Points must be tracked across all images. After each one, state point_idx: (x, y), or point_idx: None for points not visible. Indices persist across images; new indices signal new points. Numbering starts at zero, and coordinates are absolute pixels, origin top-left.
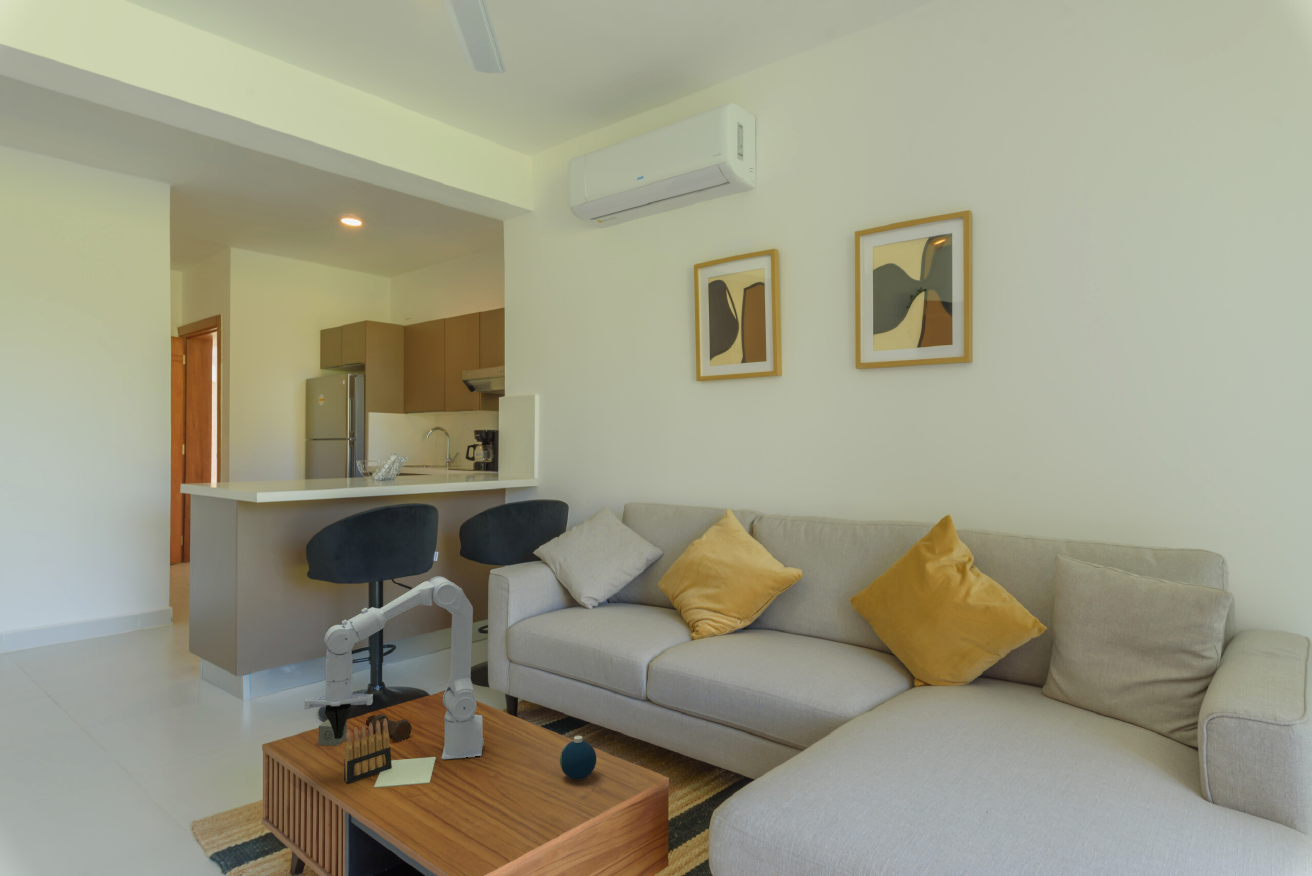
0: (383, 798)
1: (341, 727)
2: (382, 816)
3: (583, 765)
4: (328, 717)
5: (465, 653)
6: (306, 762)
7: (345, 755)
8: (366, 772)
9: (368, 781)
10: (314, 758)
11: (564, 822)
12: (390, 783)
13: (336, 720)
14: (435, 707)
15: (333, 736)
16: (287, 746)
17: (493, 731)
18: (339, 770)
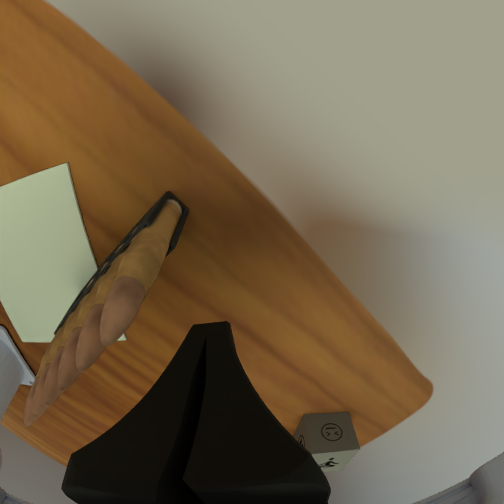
0: (22, 96)
1: (169, 370)
2: (8, 6)
3: None
4: (274, 433)
5: None
6: (360, 341)
7: (157, 242)
8: (118, 245)
9: (105, 210)
10: (344, 361)
11: None
12: (33, 189)
13: (203, 416)
14: None
15: (317, 431)
16: (409, 398)
17: (15, 416)
18: (243, 294)
